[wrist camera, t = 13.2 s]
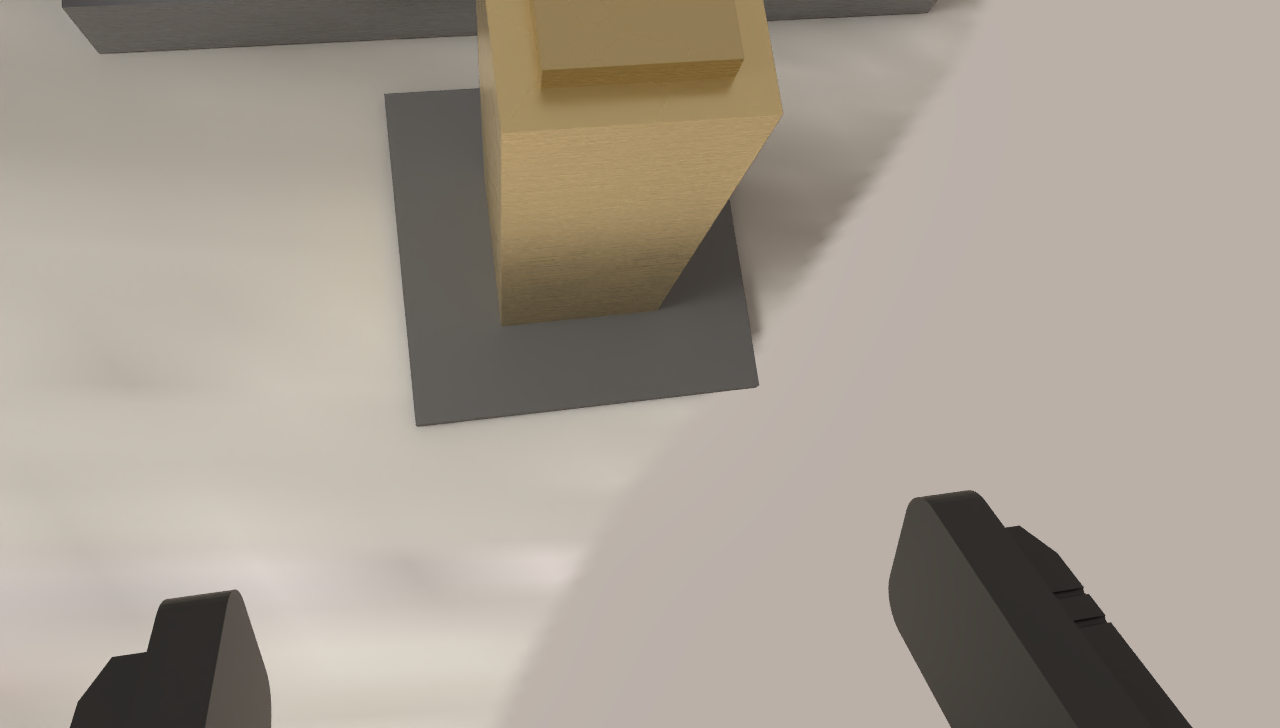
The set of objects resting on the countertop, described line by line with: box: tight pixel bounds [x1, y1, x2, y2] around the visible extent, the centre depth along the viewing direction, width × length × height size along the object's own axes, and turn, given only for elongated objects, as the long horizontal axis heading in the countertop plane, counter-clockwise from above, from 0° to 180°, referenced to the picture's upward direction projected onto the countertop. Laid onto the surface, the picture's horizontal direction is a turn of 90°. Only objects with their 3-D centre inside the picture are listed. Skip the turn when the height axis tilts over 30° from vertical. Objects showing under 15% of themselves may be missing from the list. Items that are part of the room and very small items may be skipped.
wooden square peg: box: [476, 0, 783, 327], centre depth 22 cm, size 5×5×14 cm
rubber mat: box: [384, 88, 759, 427], centre depth 28 cm, size 10×10×1 cm
